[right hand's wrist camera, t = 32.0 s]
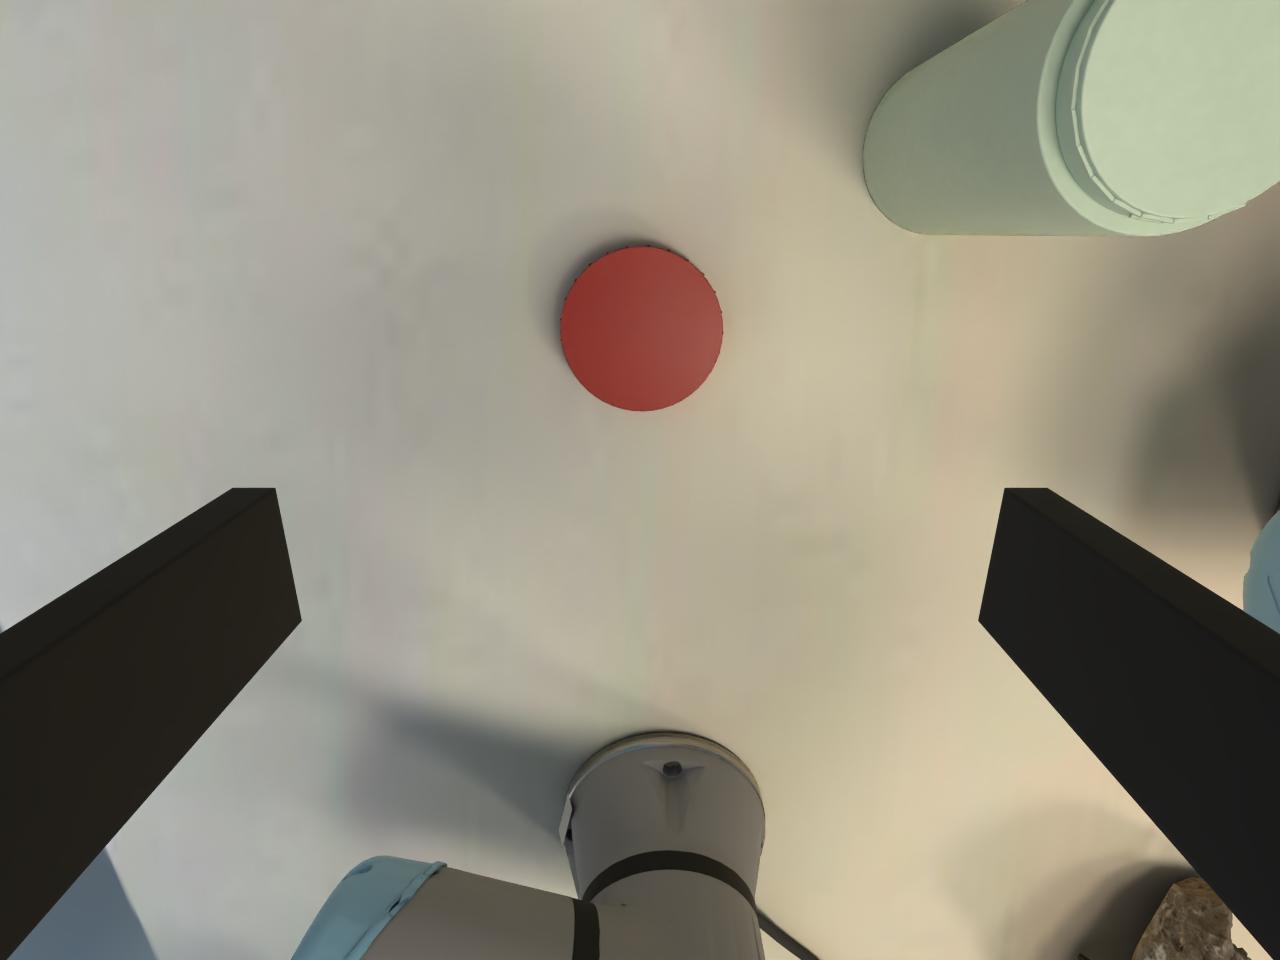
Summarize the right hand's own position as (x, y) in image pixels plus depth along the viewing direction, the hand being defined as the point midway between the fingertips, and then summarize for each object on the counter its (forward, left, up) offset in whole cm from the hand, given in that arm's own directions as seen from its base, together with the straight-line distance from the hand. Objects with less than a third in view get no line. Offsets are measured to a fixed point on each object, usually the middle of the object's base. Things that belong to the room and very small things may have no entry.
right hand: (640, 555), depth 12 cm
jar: (-3, -19, -29) cm, 35 cm away
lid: (0, 0, -28) cm, 28 cm away
